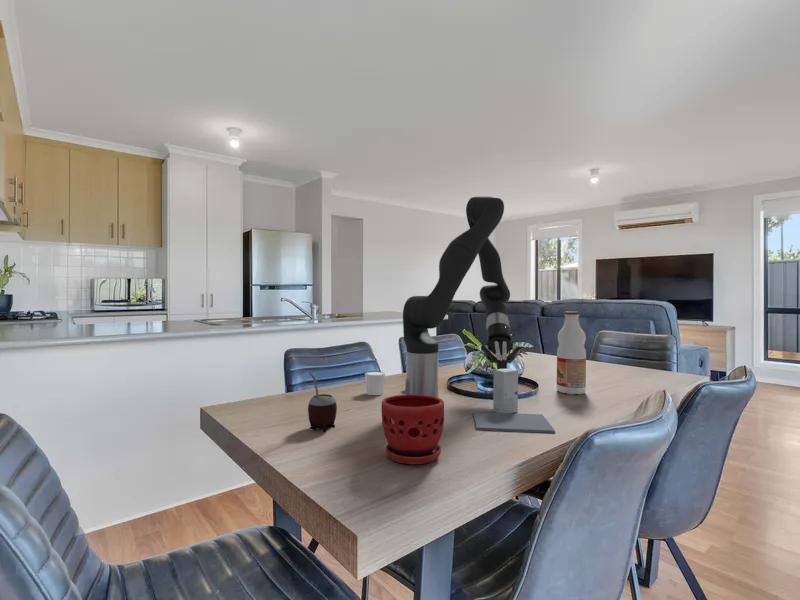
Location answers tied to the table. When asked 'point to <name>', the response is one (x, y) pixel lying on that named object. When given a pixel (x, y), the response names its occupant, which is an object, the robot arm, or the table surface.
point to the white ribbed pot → (374, 383)
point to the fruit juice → (571, 356)
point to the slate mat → (512, 422)
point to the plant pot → (413, 427)
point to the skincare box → (505, 391)
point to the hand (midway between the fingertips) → (502, 372)
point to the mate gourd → (321, 410)
